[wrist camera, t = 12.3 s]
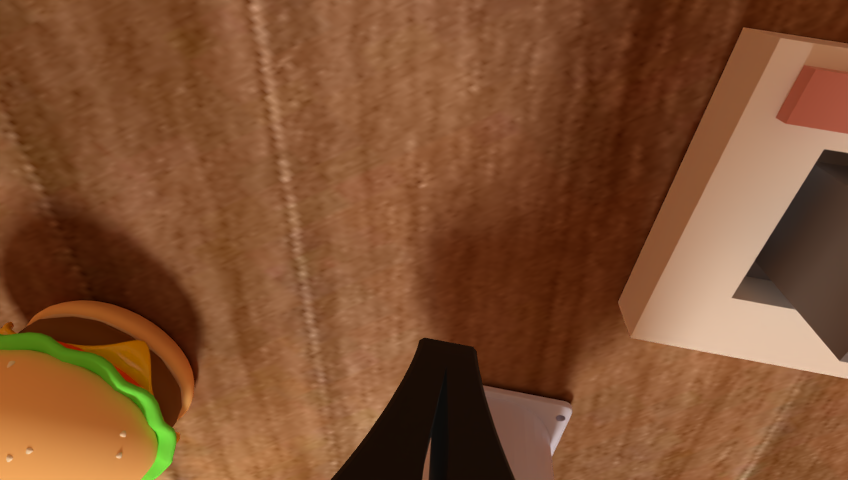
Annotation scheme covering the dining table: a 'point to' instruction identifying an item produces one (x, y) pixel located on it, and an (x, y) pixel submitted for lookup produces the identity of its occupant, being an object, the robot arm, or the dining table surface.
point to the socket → (743, 206)
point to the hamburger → (90, 395)
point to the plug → (815, 255)
